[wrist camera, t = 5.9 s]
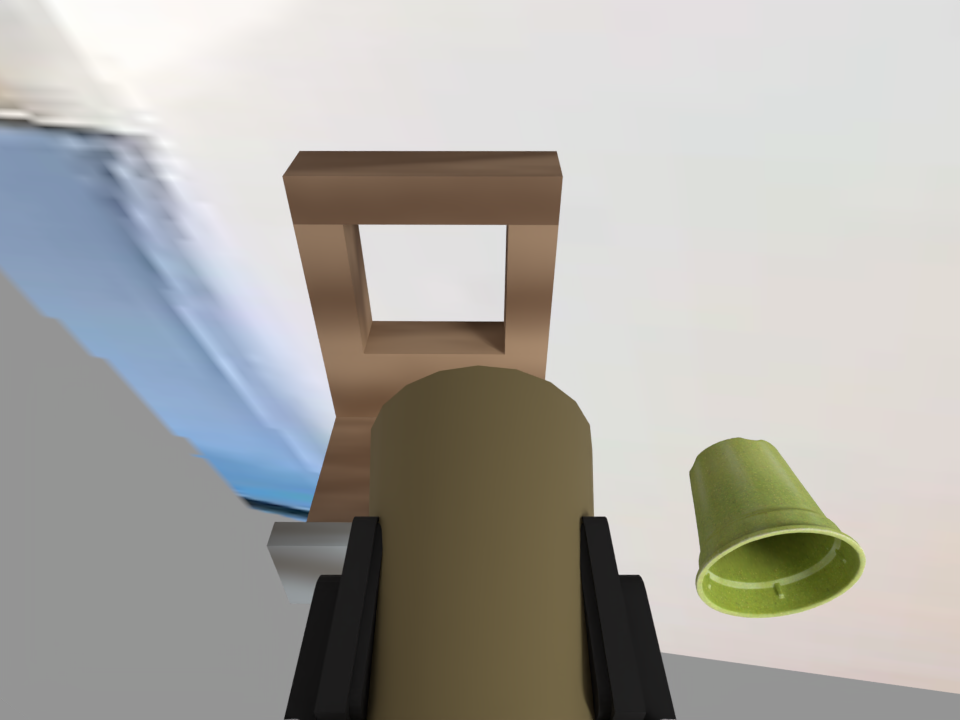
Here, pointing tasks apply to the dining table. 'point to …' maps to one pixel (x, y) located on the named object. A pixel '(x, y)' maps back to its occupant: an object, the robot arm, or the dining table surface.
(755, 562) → the plant pot
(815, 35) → the dining table surface
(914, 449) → the dining table surface
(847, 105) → the dining table surface
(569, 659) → the cork
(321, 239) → the socket stand
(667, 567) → the dining table surface
